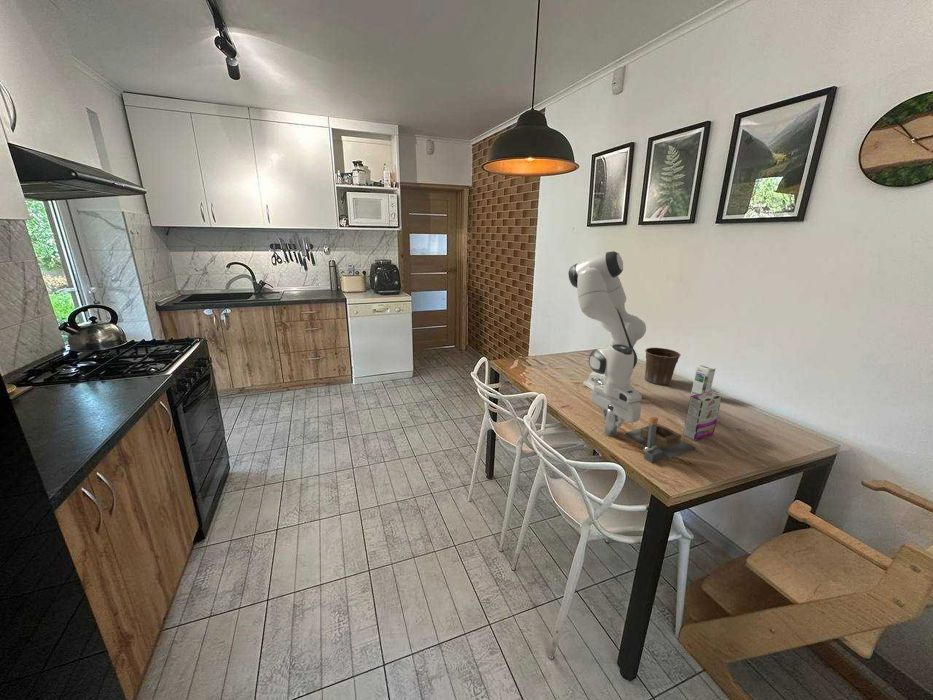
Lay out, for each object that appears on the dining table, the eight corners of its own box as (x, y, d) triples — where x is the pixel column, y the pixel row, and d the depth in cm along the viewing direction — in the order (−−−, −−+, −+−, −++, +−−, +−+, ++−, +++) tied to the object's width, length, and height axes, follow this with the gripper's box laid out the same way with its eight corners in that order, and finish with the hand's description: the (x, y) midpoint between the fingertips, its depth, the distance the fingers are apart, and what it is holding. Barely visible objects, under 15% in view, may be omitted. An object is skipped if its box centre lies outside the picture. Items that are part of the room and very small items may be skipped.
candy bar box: (701, 429, 143) (710, 390, 139) (713, 435, 139) (723, 395, 134) (681, 434, 139) (690, 395, 134) (694, 441, 135) (703, 400, 130)
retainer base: (641, 457, 124) (643, 447, 123) (651, 453, 126) (653, 443, 125) (651, 463, 121) (653, 453, 120) (661, 459, 123) (663, 449, 122)
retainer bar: (646, 445, 123) (649, 418, 121) (651, 443, 124) (654, 416, 122) (649, 447, 122) (652, 419, 120) (654, 445, 123) (657, 418, 121)
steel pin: (601, 432, 140) (605, 403, 136) (609, 429, 142) (613, 401, 138) (610, 437, 136) (614, 408, 133) (618, 434, 138) (623, 406, 135)
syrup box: (690, 394, 176) (696, 366, 172) (697, 392, 179) (703, 364, 174) (702, 398, 171) (708, 369, 167) (709, 396, 174) (716, 367, 170)
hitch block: (625, 434, 139) (627, 424, 137) (650, 426, 145) (652, 417, 143) (669, 459, 123) (671, 448, 122) (695, 449, 129) (697, 439, 128)
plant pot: (674, 389, 181) (680, 358, 177) (639, 383, 189) (644, 353, 184) (675, 379, 195) (680, 350, 190) (642, 373, 203) (646, 345, 198)
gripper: (589, 380, 141) (585, 412, 145) (633, 401, 124) (627, 436, 128) (601, 378, 144) (597, 409, 148) (646, 397, 126) (640, 433, 130)
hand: (611, 422), depth 138 cm, fingers open, 5 cm apart
